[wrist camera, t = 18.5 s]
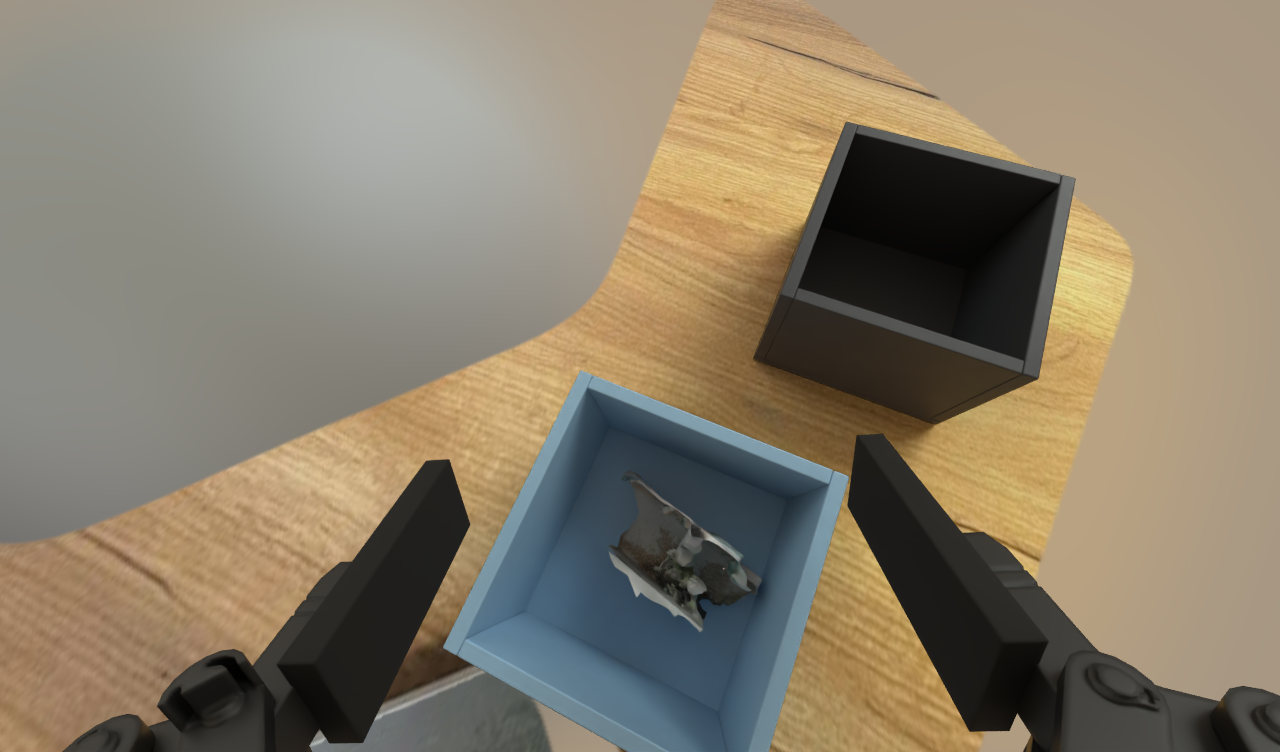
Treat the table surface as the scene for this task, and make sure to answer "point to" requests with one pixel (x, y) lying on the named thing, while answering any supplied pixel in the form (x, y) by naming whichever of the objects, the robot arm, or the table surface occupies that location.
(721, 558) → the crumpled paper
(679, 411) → the paper bin
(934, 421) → the waste bin
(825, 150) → the table surface
